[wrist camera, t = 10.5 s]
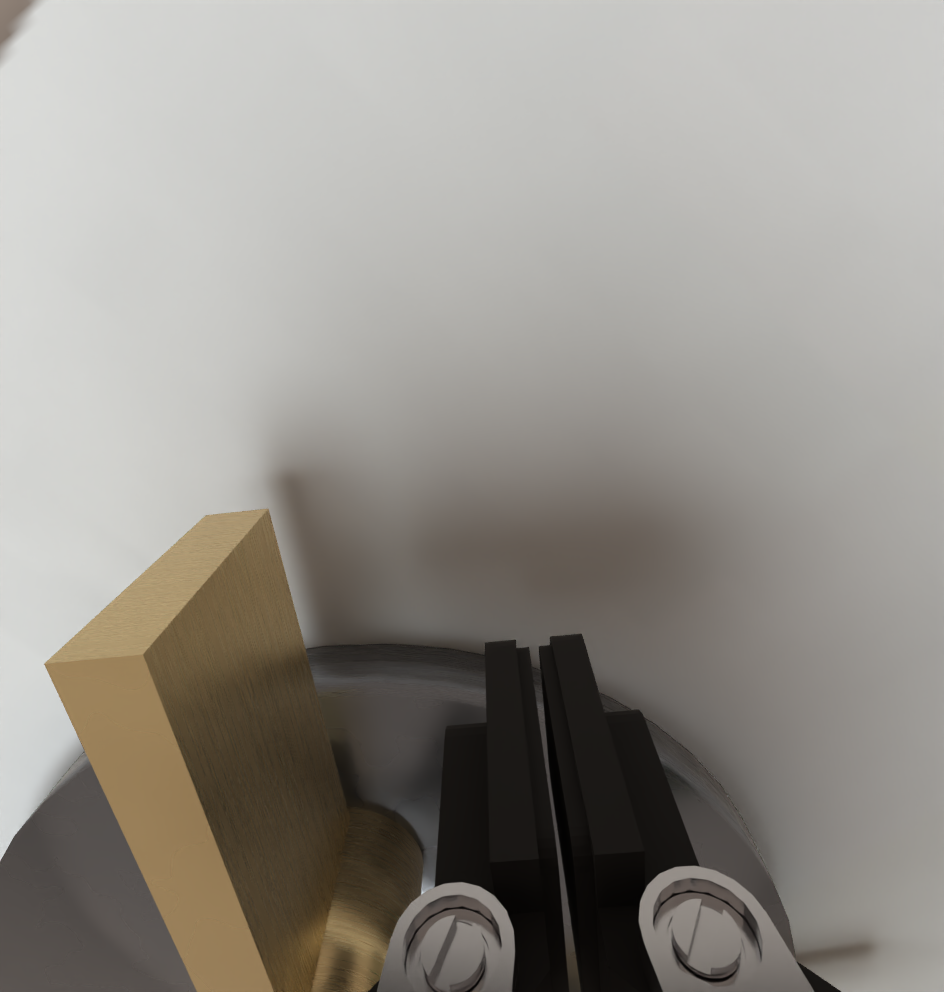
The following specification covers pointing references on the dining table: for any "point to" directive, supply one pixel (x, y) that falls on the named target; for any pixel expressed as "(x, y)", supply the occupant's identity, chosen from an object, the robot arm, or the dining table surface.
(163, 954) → the plate
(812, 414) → the dining table surface
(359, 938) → the knob
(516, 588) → the dining table surface
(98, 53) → the dining table surface
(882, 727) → the dining table surface
